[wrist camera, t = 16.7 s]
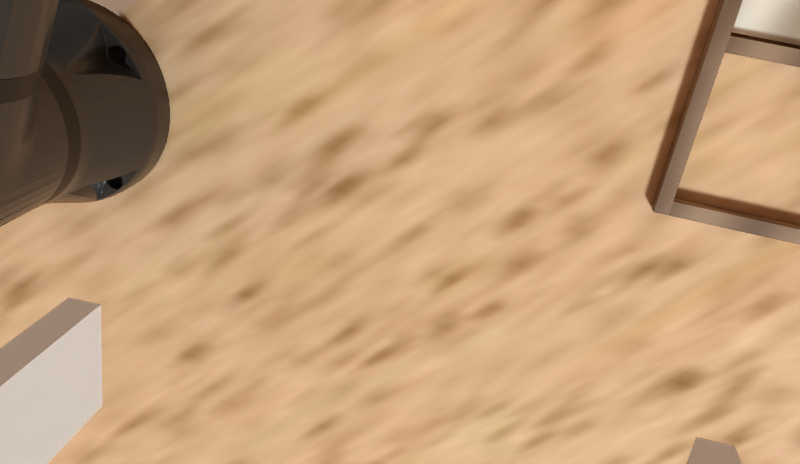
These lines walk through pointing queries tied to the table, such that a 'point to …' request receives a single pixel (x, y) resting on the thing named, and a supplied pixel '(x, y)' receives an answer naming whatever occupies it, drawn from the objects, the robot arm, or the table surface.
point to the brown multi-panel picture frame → (739, 13)
